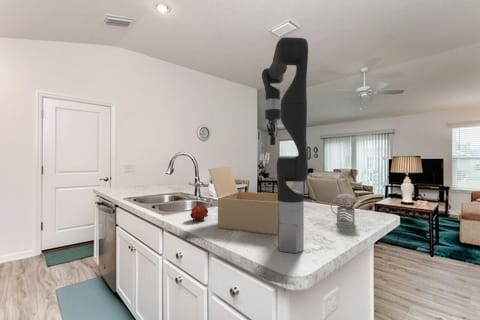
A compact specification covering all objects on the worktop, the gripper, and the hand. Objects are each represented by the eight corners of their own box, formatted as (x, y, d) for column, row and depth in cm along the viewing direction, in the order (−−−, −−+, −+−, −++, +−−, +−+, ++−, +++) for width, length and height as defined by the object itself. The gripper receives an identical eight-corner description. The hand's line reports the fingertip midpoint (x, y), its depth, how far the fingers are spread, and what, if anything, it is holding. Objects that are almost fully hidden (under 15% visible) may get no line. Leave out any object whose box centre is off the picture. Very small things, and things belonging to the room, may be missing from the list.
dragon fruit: (208, 220, 132) (193, 229, 122) (198, 210, 135) (182, 218, 125) (214, 209, 128) (199, 217, 118) (203, 199, 131) (188, 206, 121)
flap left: (209, 168, 114) (208, 169, 114) (218, 197, 112) (217, 197, 112) (230, 167, 135) (229, 167, 135) (237, 190, 133) (237, 191, 134)
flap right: (277, 201, 101) (278, 201, 101) (288, 170, 99) (289, 170, 99) (288, 193, 123) (289, 194, 122) (297, 168, 121) (298, 168, 120)
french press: (358, 228, 110) (358, 174, 110) (331, 226, 114) (331, 174, 114) (355, 223, 119) (355, 173, 119) (330, 221, 123) (330, 172, 123)
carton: (276, 235, 101) (276, 202, 101) (217, 228, 112) (217, 198, 112) (288, 221, 123) (288, 194, 123) (238, 216, 134) (238, 191, 134)
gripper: (276, 106, 110) (277, 144, 110) (283, 111, 122) (283, 145, 122) (261, 107, 113) (261, 144, 113) (269, 112, 125) (269, 145, 125)
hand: (272, 145), depth 118 cm, fingers closed
